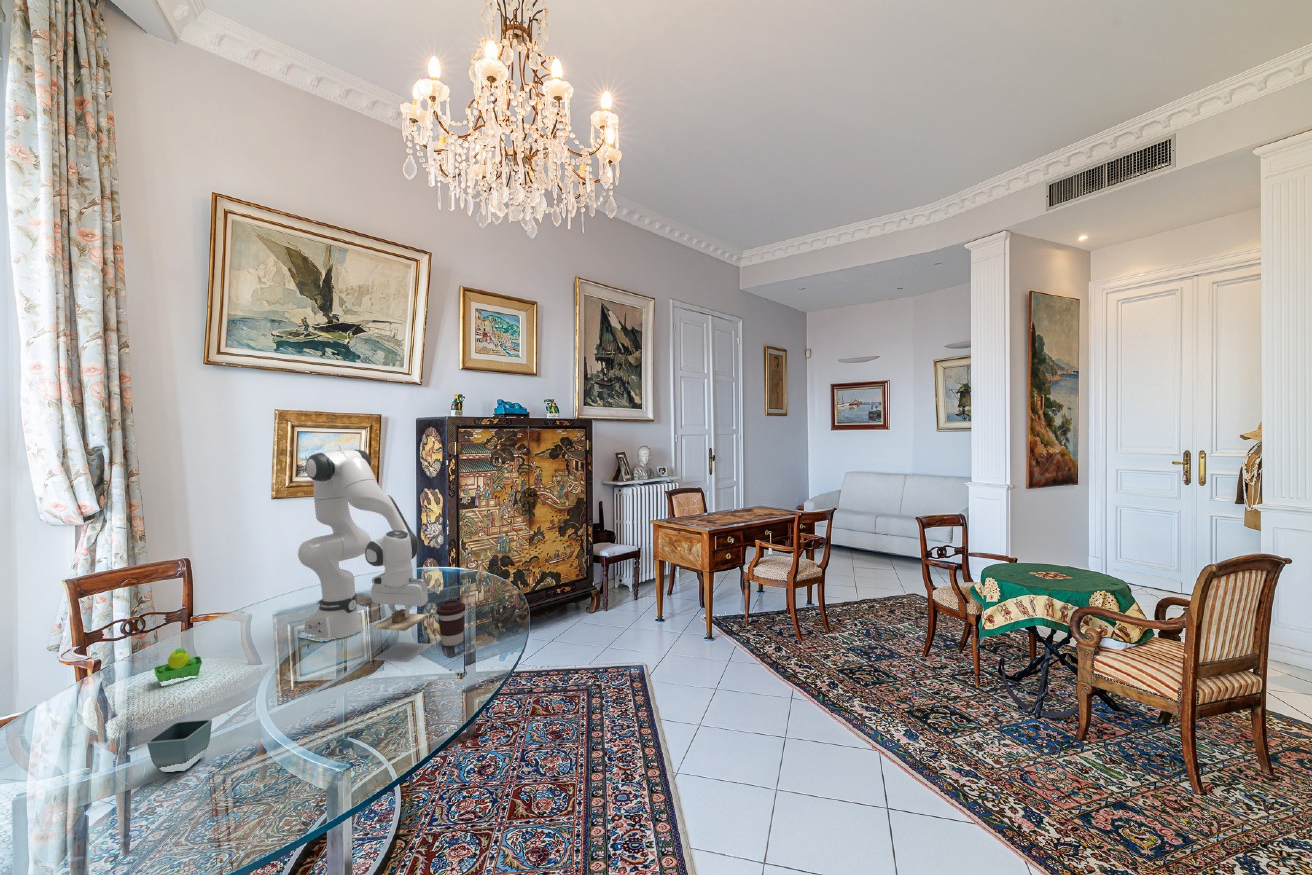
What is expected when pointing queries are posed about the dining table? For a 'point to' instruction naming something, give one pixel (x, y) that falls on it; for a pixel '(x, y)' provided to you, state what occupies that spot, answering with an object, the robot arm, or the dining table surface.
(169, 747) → the flower pot
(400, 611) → the lid
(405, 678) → the dining table surface
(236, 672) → the dining table surface
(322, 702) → the dining table surface
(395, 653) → the mat
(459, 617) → the coffee cup
